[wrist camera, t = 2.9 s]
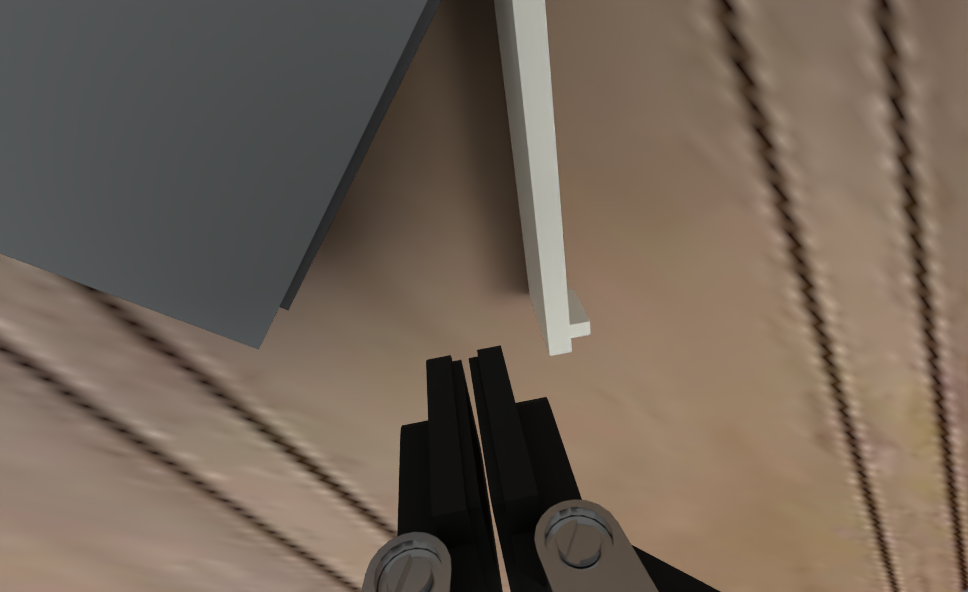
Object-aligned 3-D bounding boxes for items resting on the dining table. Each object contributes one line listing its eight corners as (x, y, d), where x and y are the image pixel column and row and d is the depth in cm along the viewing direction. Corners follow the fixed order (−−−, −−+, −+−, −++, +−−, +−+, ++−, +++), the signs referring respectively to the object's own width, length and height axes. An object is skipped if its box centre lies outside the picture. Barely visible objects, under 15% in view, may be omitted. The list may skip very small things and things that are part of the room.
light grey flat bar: (540, -97, 15) (575, -123, 12) (569, 291, 22) (596, 347, 18) (476, -86, 15) (491, -109, 12) (525, 299, 22) (544, 356, 18)
